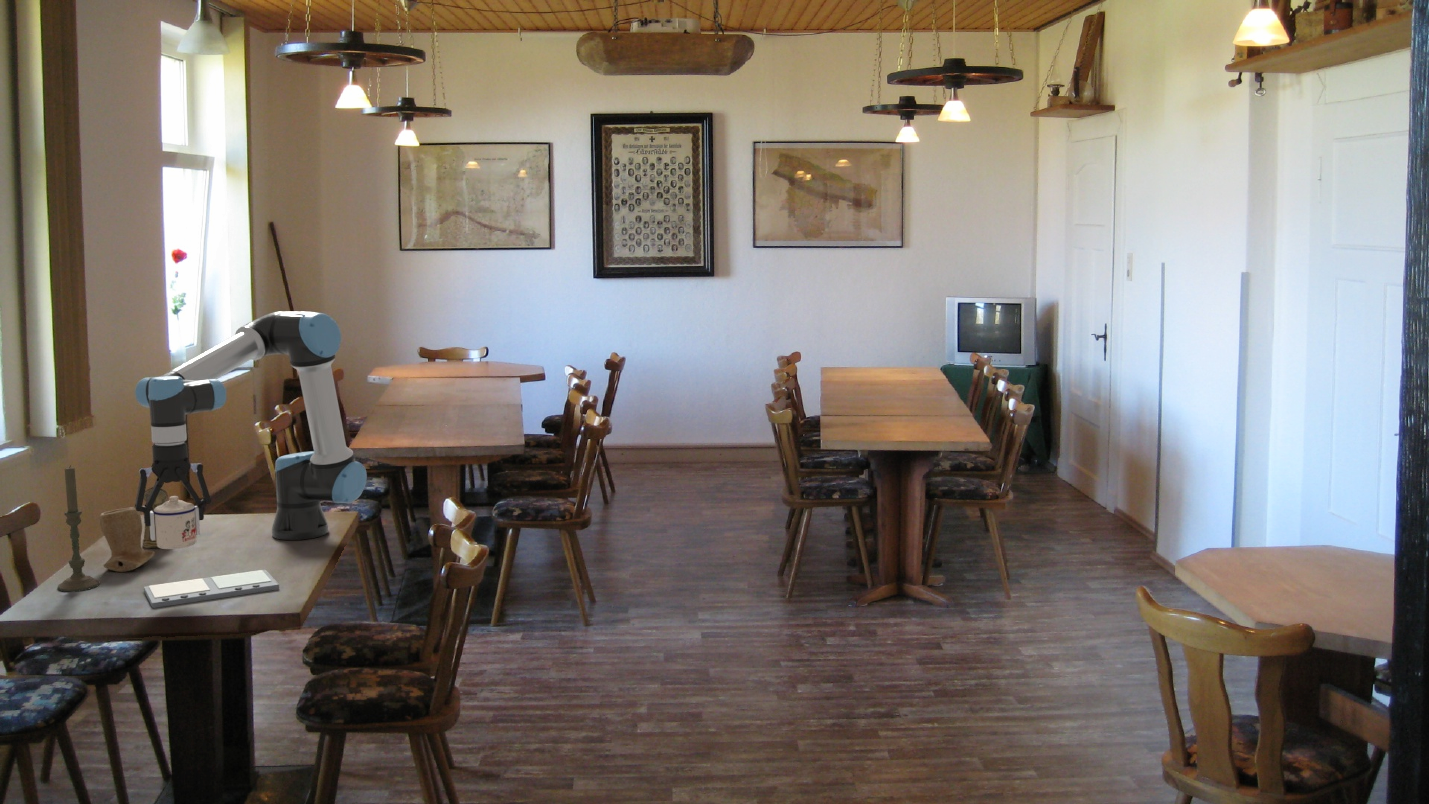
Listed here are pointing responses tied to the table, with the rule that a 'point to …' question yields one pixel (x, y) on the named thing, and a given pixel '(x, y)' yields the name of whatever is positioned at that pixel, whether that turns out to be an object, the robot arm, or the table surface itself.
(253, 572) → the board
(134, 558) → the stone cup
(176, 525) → the teacup with lid
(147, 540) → the wooden mug
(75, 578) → the candlestick holder
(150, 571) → the table surface
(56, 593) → the table surface
